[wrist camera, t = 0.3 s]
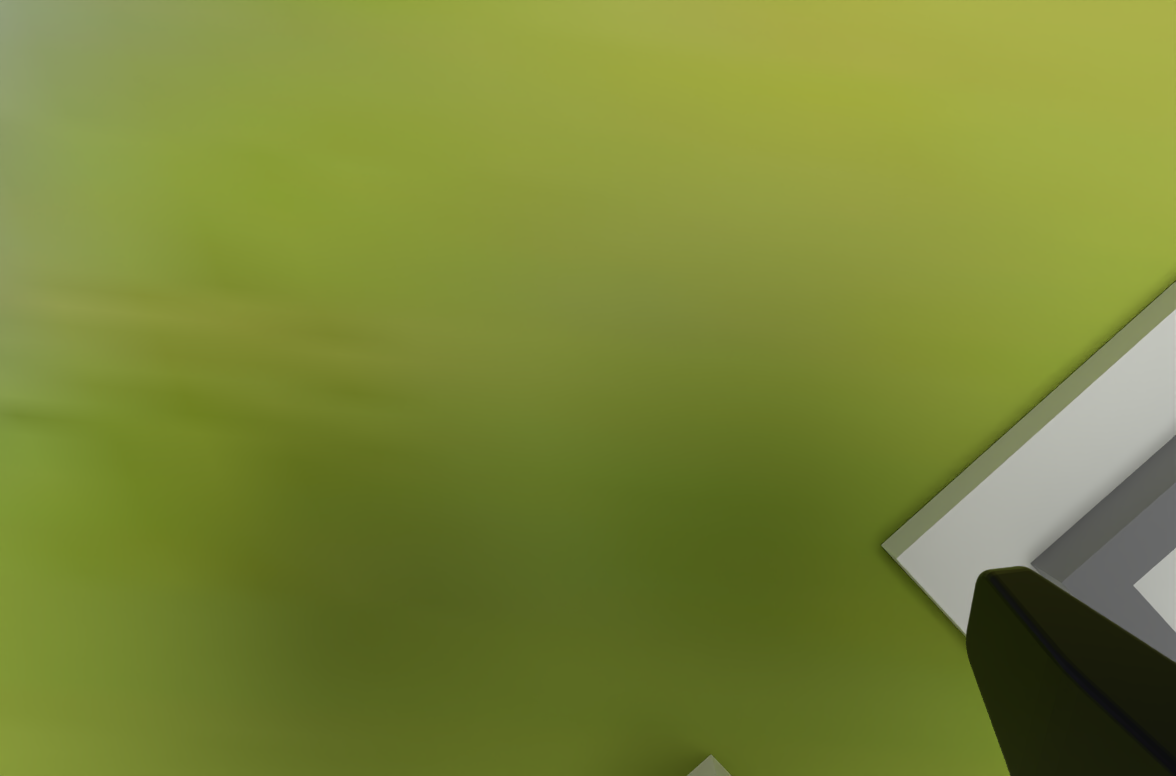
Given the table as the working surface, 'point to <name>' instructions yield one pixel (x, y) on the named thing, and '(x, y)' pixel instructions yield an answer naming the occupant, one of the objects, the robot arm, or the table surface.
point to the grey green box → (709, 768)
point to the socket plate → (1072, 493)
